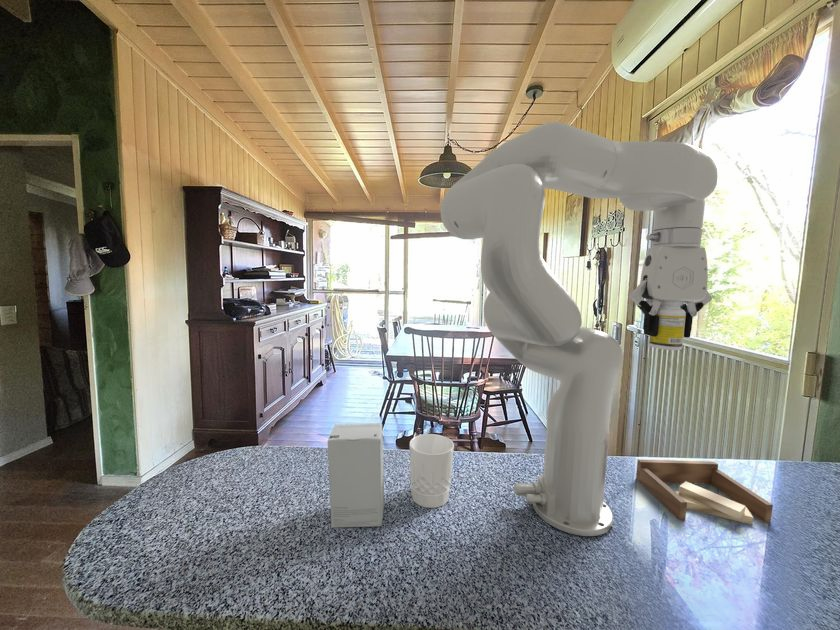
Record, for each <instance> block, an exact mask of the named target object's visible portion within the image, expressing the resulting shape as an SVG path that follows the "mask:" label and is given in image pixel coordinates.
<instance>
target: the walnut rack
mask: <svg viewBox="0 0 840 630" xmlns="http://www.w3.org/2000/svg"><path fill="white" fill-rule="evenodd" d="M636 464H637V465H636V473H635V474H636V476H635V480H636V481H637V482H638V483H639V484H640V485H641V486H642V487H643V488H645V490H646V491H648V493H650V494H651V495H652V496H653V497H654V498H656V500H657V501H658V502H659V503H660V504H661V505H662V506H664V508H666V509H667V510H668V511H669V512H670V513H671V514H672V515H673V516H674V517H675V518H676V519H677V520H678V521H686V518H687V517H686V515H687V509H686V508H687V502H686V501H685V500H684V499H683V498H681V497H680V496H679V495H678V494H677V493H675V491H674V489H672V488H671V487H670V486H669V485H667V484H683V483H684V482H685V481H686V482H689V483H704V484H703V485H711V486H712V487H714V488H715V489H717V490H718V491H720V492H721V493H723V494H724V495H725V494H726V495H725V496H726V497H728V498H729V497H730V500H732V501H735V502H737V503H740V504H742V505H744V506H745V507H747V509H748V510H749V512H750V513H751V515H752V516H755V518H758V520H760V521H761V522H763V523H765V524H766V523H768V524H771V523H772V514H773V507H774V505H773V503H771V502H769V501H767V500H766V499H765V498H764V497H762V496H760V495H758V494H757V493H755V492H754V491H752V490H751V489H749V488H747V487H746V486H744V485H743V484H741V483H740V482H738V481H737V480H736V479H734V478H733V477H731V476H729V475H728V474H726V473H725V472H723V471H721V470H720V469H718V468H719V463H717V462H716V461H707V460H703V461H702V460H675V459H674V460H672V459H671V460H669V459H668V460H667V459H637V463H636Z"/></svg>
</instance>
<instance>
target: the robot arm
mask: <svg viewBox="0 0 840 630" xmlns="http://www.w3.org/2000/svg"><path fill="white" fill-rule="evenodd" d="M719 171H720V169H719V166H718V164H717V162H716V160H715V158H714V157H713V156H712V155H711V154H710V153H709V152H707V151H706V150H704V149H701V148H699V147H697V146H695V145H692V144H689V143H685V142H676V141H639V140H638V141H617V140H613V139H610V138H607V137H604V136H602V135H599V134H596V133H594V132H592V131H588V130H585V129H582V128H579V127H576V126H573V125H571V124H567V123H565V122H558V121H551V122H545V123H544V124H541V125H538V126H536V127H534V128H531V129H529V130H527V131H525V132H524V133H522V134H519V135H518V136H514V137H513V138H511V139H509V140H507V141H505V142H504V143H502V144H501V145H499V146H498V147H497V148H496V149H494V150H492V152H490V154H488V155H487V156H486V157H485V158H483V159H482V160H481V161H480V162H479V163H478V164H477V165H475V166H474V167H473V168H472V169H471V170H469V171H468V172H467V173H466V174H465V175H463V177H461V178H460V179H459V180H457V181H456V182H455V183H454V184H453V185H452V186H450V188H448V190H447V192H446V193H445V194H444V196H443V198H442V202H441V205H440V219H441V222H442V224H443V227H444V228H445V229H446V231H447V232H448V233H450V234H451V235H452V236H453V237H455V238H458V239H461V240H476V239H482V247H481V256H480V273H481V278H482V281H483V284H484V286H485V287H486V289H487V291H488V292H489V293H488V295H487V296H486V298H485V300H484V304H483V317H484V321H485V324H486V327H487V329H488V330H489V332H490V334H492V335H493V336H494V338H495V339H496V340H497V341H498V342H499V343H500V344H501V345H502V346H503V347H504V348H505V349H506V350H507V351H508V352H509V354H511V355H512V356H513V357H514V358H515V359H516V361H518V362H519V363H520V364H521V365H523V366H524V367H525V368H526V369H528V370H530V371H532V372H535V373H538V374H540V375H543V376H546V377H549V378H552V379H555V380H558V381H560V385H559V387H558V388H557V390H556V391H555V393H554V394H553V395H552V397H551V398H550V399H549V402H548V404H547V411H546V427H545V428H546V431H545V443H544V444H545V445H544V447H545V448H544V461H543V462H544V463H543V475H537V481H533V482H532V483H520V482H518V483H516V482H515V483H514V484H513V485H514V487H513V489H514V490H513V491H514V494H515V496H519V497H520V496H521V497H523V496H524V497H525V502H526V504H532V507H533V509H534V511H535V513H536V514H537V515H538V516H539V517H540V518H541V519H542V520H543V521H544V522H546V523H547V524H549V525H550V526H552V527H554V528H555V529H557V530H559V531H562V532H565V533H567V534H571V535H575V536H582V537H596V536H601V535H603V534H606V533H607V532H609V531H610V530H611V528H612V526H613V523H614V516H613V512H612V510H611V508H610V507H609V506H608V504H607V503H606V502H605V501H604V496H605V485H606V474H607V460H608V452H609V451H608V450H609V449H608V447H609V439H610V438H609V437H610V425H611V415H612V414H611V413H612V405H613V401H614V395H615V390H616V386H617V382H618V380H619V376H620V373H621V370H622V366H623V359H624V357H623V356H624V355H623V351H622V347H621V345H620V344H619V342H618V340H616V338H614V337H613V336H612V335H610V334H608V333H606V332H605V331H601V330H599V329H594V328H590V327H584V326H582V323H583V322H582V314H581V311H580V309H579V307H578V305H577V303H576V302H575V300H574V299H573V297H572V296H571V295H570V293H569V291H567V289H566V288H565V287H564V286H563V284H562V282H560V280H559V279H558V278H557V276H556V275H555V274H554V273H553V271H552V269H551V268H550V267H549V265H548V264H547V263H546V261H545V259H544V258H543V255H542V252H541V249H540V235H541V234H540V233H541V226H542V219H543V214H544V211H545V204H546V203H545V202H546V193H545V189H547V190H555V191H559V192H564V193H568V194H572V195H577V196H581V197H584V198H589V199H594V200H601V199H602V200H605V199H618V200H619V202H620V204H621V205H622V206H624V207H625V208H626V209H628V210H631V211H633V212H634V211H635V212H646V211H649V212H650V211H653V212H654V217H653V227H652V233H647V235H646V239H645V240H646V241H650V245H651V247H648V249H647V252H646V254H645V258H644V261H643V265H642V268H641V269H642V270H641V273H640V274H641V275H640V281H639V284H638V285H637V286H636V287H635V288H634V289H633V290H632V291H631V292H630V293H629V295H628V298H629V299H630V300H631V301H632V302H633V303H634V304H635V305H636V306H637V308H639V310H640V311H641V314H642V315H643V325H642V329H643V334H644V335H645V336H648V337H650V336H655V337H656V336H657V335H658V325H659V316H657V315H656V313H657V311H658V309H659V306H660V304H661V302H662V300H664V301H682V305H681V306H680V308H681V309H683V310H684V311H685V312H686V317H685V327H684V338H690V337H691V333H692V329H693V328H692V327H693V320H694V319H693V318H694V317H696V316H697V315H698V312H699V311H700V310H702V309H703V308H704V306H706V305H707V304H709V302H711V301H712V300H713V297H712V296H711V294H710V293H709V291H708V275H709V274H708V273H709V272H708V257H707V251H706V247H701V243H702V235H703V225H704V215H705V205H706V199H707V198H708V197H709V196H711V194H712V193H713V192H714V191H715V189H716V187H717V186H718V184H719V179H720V172H719Z"/></svg>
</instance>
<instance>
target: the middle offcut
mask: <svg viewBox="0 0 840 630" xmlns="http://www.w3.org/2000/svg"><path fill="white" fill-rule="evenodd" d="M674 492H675V493H677V494H678V495H679V496H680V497H681V498H683V499H684V500H685V501H686V502H687V508H686V510H691V511H695V512H700V513H703V514H708V515H711V516H716V517H720V518H724V519H727V520H732V521H736V522H741V523H745V524H748V525H754V515H753V514H752V513H750V512H749V510H748V509H747V507H745V513H744V515H743V516H742V517H741V518H740V519H737V518H734V517H732V516H730V515H728V514H725V513H723V512H721V511H719V510H716V509H714V508H712V507H710V506H708V505H705V504H703V503H701V502H699V501H696V500H694V499H692V498H689V497H687V496H685V495H683V494H680V493H679V490H675V491H674Z"/></svg>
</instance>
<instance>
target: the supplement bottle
mask: <svg viewBox="0 0 840 630" xmlns="http://www.w3.org/2000/svg"><path fill="white" fill-rule="evenodd" d="M681 305H682V301H664V300H662V302H661V304H660V306H659V309H658V311H657V313H656V315H657V316H659V325H658V335H657V336H656V337H655V336H649V338H648V339H649V340H648V346H650V347H651V348H654V349H659V350H668V351H680V350H682V349H683V347H684V338H685V337H684V327H685V317H686V312H685V311H684V310H683V309H681V308H680V306H681Z"/></svg>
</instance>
